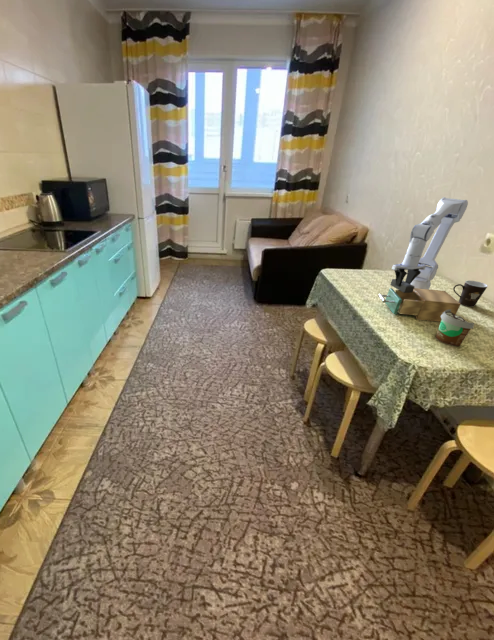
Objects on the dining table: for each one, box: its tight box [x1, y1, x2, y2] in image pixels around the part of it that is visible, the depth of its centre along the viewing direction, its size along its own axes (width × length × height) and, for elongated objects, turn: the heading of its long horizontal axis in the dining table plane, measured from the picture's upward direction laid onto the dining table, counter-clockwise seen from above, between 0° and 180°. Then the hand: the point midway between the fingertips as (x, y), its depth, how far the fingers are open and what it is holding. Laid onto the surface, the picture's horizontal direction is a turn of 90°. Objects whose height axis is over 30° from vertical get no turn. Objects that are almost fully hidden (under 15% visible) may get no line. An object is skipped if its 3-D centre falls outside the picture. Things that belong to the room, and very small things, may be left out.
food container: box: [435, 309, 475, 347], centre depth 121 cm, size 12×6×10 cm, turn 5°
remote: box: [389, 278, 414, 293], centre depth 144 cm, size 4×10×3 cm, turn 9°
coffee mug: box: [452, 280, 489, 308], centre depth 154 cm, size 12×9×10 cm
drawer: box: [377, 287, 424, 316], centre depth 143 cm, size 17×13×7 cm
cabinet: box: [413, 288, 462, 323], centre depth 141 cm, size 14×15×9 cm
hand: (402, 285), depth 144 cm, fingers closed on remote, 4 cm apart
